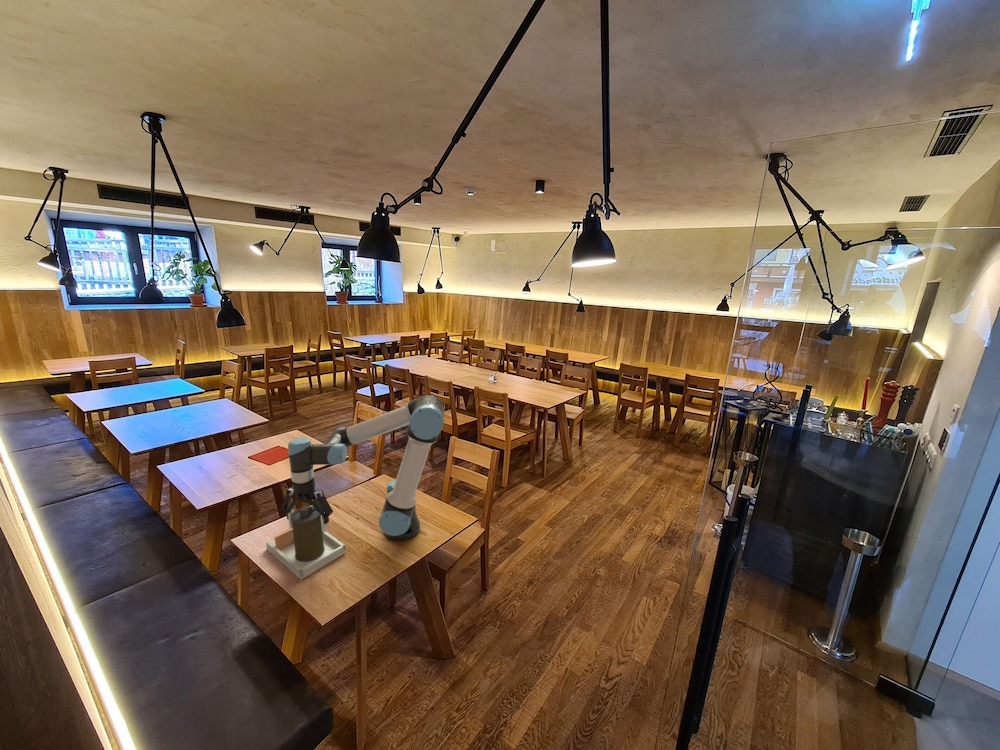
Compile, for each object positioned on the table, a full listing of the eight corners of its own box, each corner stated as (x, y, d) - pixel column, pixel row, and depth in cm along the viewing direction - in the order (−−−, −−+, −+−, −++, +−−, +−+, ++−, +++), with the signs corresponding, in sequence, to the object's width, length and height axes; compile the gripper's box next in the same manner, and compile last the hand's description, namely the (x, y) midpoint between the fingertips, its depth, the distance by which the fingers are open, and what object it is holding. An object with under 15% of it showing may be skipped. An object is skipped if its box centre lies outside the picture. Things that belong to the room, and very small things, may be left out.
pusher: (314, 531, 163) (313, 519, 162) (277, 550, 151) (275, 537, 150) (305, 525, 167) (304, 513, 166) (268, 543, 155) (267, 530, 154)
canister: (312, 564, 145) (308, 517, 141) (288, 559, 147) (283, 513, 143) (330, 545, 156) (327, 501, 151) (308, 541, 158) (303, 497, 153)
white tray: (345, 552, 153) (345, 545, 153) (300, 579, 139) (300, 571, 138) (310, 527, 168) (310, 520, 167) (266, 549, 154) (266, 542, 153)
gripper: (339, 476, 146) (344, 526, 151) (279, 471, 149) (286, 519, 154) (328, 487, 139) (333, 538, 144) (265, 480, 142) (272, 530, 147)
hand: (308, 528), depth 149 cm, fingers open, 13 cm apart
